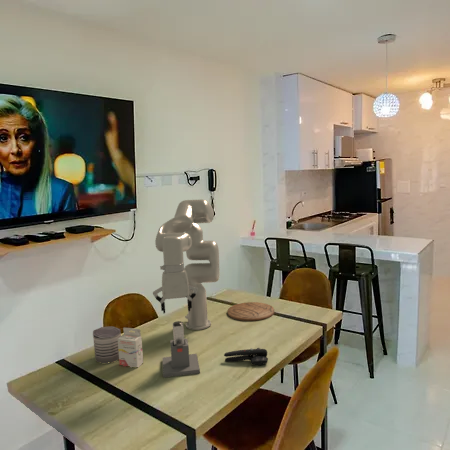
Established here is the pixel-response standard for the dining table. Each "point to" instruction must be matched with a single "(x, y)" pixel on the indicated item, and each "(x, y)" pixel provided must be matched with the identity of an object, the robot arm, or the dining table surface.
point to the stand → (180, 361)
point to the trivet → (250, 311)
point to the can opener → (248, 356)
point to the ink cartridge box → (130, 348)
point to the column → (178, 332)
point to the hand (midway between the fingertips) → (176, 311)
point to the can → (106, 344)
